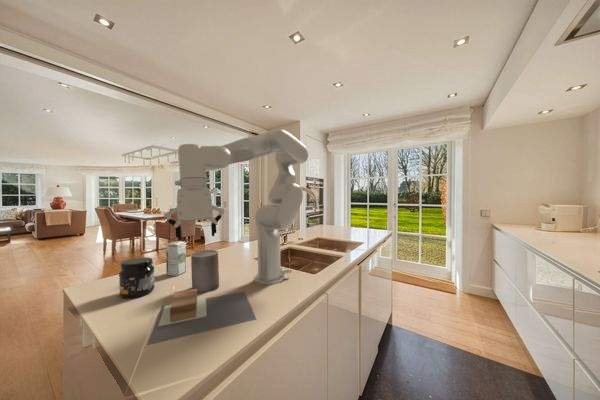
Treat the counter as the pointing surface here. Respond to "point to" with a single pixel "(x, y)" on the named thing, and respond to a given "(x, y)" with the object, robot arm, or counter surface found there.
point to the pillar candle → (205, 271)
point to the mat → (204, 317)
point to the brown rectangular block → (183, 305)
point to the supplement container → (136, 277)
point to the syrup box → (175, 258)
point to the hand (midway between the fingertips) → (197, 237)
